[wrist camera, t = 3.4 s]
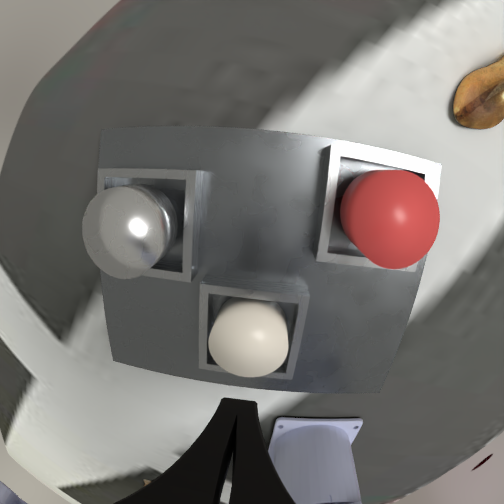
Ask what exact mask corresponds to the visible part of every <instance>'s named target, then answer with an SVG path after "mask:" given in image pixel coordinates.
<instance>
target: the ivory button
mask: <svg viewBox="0 0 504 504" xmlns="http://www.w3.org/2000/svg"><path fill="white" fill-rule="evenodd" d="M208 344H209V351H210V353H211V356H212V357H213V359H214V360H215V362H216V363H217V364H218V365H219V366H220V367H221V368H223V369H224V370H226V371H228V372H229V373H232V374H234V375H237V376H242V377H260V376H264V375H267V374H269V373H271V372H273V371H275V370H276V369H277V368H279V367H280V366H281V365H282V363H283V362H284V360H285V359H286V356H287V353H288V333H287V320H286V316H285V313H284V311H283V310H282V308H281V307H280V306H279V305H278V304H277V303H276V302H275V301H268V300H259V299H250V298H242V297H232V298H230V299H229V300H227V301H226V302H225V303H224V304H223V305H222V307H221V308H220V310H219V312H218V314H217V317H216V320H215V322H214V325H213V327H212V330H211V333H210V336H209V341H208Z"/></svg>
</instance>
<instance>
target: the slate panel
mask: <svg viewBox="0 0 504 504" xmlns="http://www.w3.org/2000/svg"><path fill="white" fill-rule="evenodd" d="M441 165H442V164H439V163H436V162H432V161H429V160H425V159H422V158H418V157H415V156H411V155H407V154H403V153H399V152H395V151H391V150H386V149H382V148H378V147H373V146H368V145H363V144H358V143H353V142H348V141H343V140H337V139H331V138H325V137H318V136H311V135H304V134H297V133H289V132H280V131H270V130H259V129H247V128H232V127H210V126H147V127H126V128H112V129H101V138H100V150H99V166H98V179H97V194H98V193H100V192H101V191H103V190H106V189H108V188H113V187H119V186H125V185H132V184H147V185H151V186H153V187H155V188H157V189H159V190H160V191H161V192H163V193H164V194H165V195H166V196H167V197H168V199H169V200H170V202H171V203H172V205H173V207H174V210H175V212H176V216H177V222H178V229H177V236H176V240H175V242H174V244H173V246H172V248H171V250H170V251H169V252H168V253H167V254H166V255H165V256H164V257H163V258H162V259H160V260H159V261H158V262H157V263H156V264H154V265H153V266H152V267H151V268H150V269H149V270H147V271H146V272H145V273H144V274H142V275H140V276H138V277H135V278H131V279H120V278H116V277H113V276H110V275H108V274H107V273H105V272H104V271H102V270H101V269H100V273H101V284H102V293H103V301H104V309H105V316H106V323H107V329H108V335H109V341H110V346H111V351H112V356H113V361H116V362H120V363H124V364H127V365H131V366H135V367H139V368H143V369H147V370H151V371H155V372H160V373H164V374H169V375H174V376H179V377H184V378H189V379H194V380H200V381H206V382H212V383H218V384H225V385H232V386H239V387H248V388H256V389H266V390H277V391H291V392H309V393H379V392H380V390H381V388H382V386H383V384H384V381H385V379H386V377H387V374H388V372H389V370H390V367H391V365H392V363H393V360H394V358H395V355H396V353H397V350H398V348H399V345H400V342H401V340H402V337H403V334H404V331H405V328H406V326H407V323H408V320H409V317H410V314H411V311H412V307H413V304H414V301H415V298H416V294H417V291H418V287H419V284H420V280H421V277H422V273H423V269H424V265H425V261H426V257H427V254H426V255H425V256H424V257H423V258H422V259H420V260H419V261H418V262H416V263H415V264H413V265H411V266H408V267H406V268H402V269H387V268H383V267H380V266H378V265H376V264H374V263H373V262H371V261H370V260H369V259H368V258H367V257H366V256H365V255H364V254H363V253H362V252H361V251H360V250H359V249H358V248H357V247H356V246H355V245H354V244H353V243H352V242H351V241H350V240H349V239H348V237H347V236H346V234H345V232H344V230H343V227H342V224H341V218H340V207H341V201H342V198H343V195H344V193H345V191H346V189H347V188H348V186H349V185H350V183H351V182H352V181H353V180H354V179H355V178H356V177H358V176H359V175H361V174H363V173H365V172H368V171H371V170H403V171H408V172H411V173H414V174H416V175H418V176H419V177H420V178H422V179H423V180H424V181H425V182H426V183H427V184H428V185H429V186H430V188H431V189H432V191H433V192H434V195H435V197H436V199H438V192H439V184H440V175H441ZM232 297H242V298H250V299H259V300H268V301H275V302H276V303H277V304H278V305H279V306H280V307H281V308H282V310H283V311H284V313H285V316H286V320H287V333H288V353H287V356H286V359H285V360H284V362H283V363H282V365H281V366H280V367H279V368H277V369H276V370H275V371H273V372H271V373H269V374H267V375H264V376H260V377H242V376H237V375H234V374H232V373H229V372H228V371H226V370H224V369H223V368H221V367H220V366H219V365H218V364H217V363H216V362H215V360H214V359H213V357H212V356H211V353H210V351H209V344H208V341H209V336H210V333H211V330H212V327H213V325H214V322H215V320H216V317H217V314H218V312H219V310H220V308H221V307H222V305H223V304H224V303H225V302H226V301H227V300H229V299H230V298H232Z"/></svg>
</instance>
